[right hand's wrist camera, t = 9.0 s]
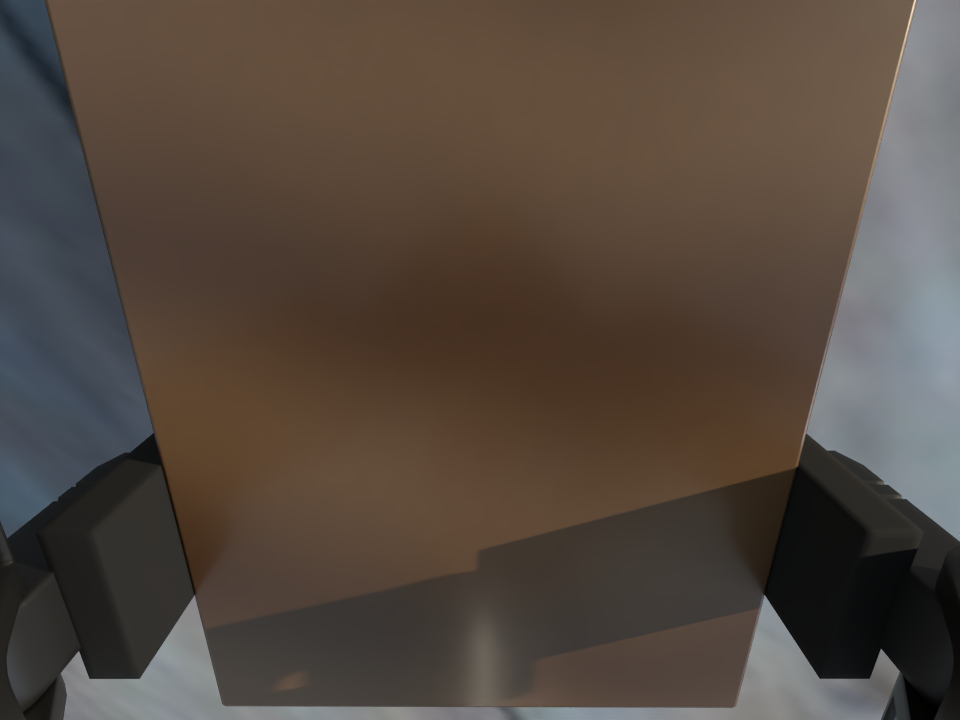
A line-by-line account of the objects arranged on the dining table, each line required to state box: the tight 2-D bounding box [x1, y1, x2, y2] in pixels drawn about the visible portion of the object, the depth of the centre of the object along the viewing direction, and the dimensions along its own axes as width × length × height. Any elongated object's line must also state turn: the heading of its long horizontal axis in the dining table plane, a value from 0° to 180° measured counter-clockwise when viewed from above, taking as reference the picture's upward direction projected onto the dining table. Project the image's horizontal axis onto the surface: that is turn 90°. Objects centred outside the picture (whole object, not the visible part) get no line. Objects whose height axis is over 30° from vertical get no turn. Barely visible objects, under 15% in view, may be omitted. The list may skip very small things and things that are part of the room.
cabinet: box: [45, 0, 917, 708], centre depth 12 cm, size 17×10×11 cm, turn 0°
